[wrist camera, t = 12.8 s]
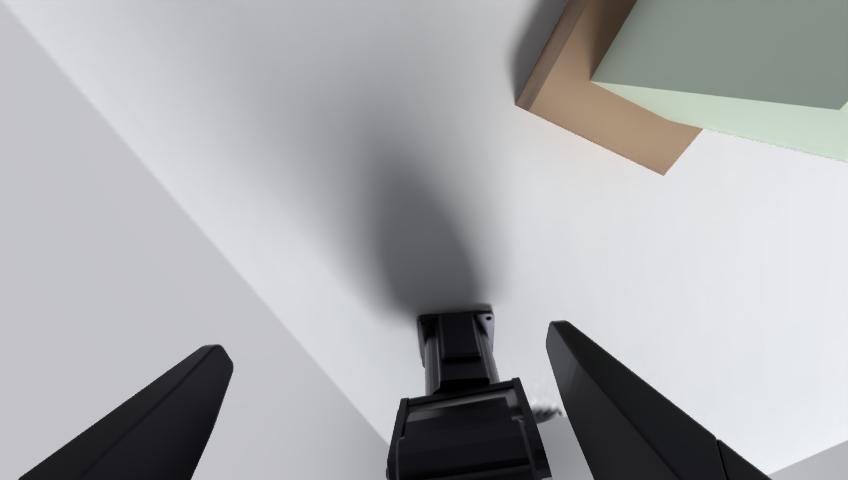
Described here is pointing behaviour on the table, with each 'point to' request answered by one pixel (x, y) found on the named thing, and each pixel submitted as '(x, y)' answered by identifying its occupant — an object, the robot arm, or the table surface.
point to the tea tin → (739, 68)
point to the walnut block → (598, 90)
